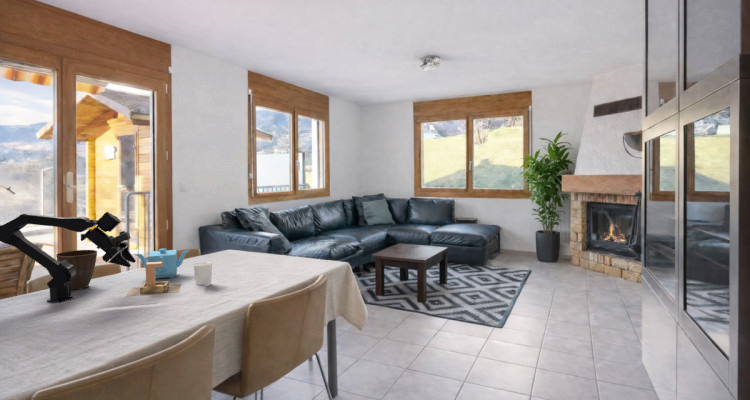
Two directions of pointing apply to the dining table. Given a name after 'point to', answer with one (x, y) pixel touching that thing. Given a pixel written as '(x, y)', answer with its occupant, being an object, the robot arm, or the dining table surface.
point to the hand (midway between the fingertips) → (132, 264)
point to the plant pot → (80, 266)
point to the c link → (152, 273)
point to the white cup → (203, 273)
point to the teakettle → (164, 262)
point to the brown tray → (154, 289)
